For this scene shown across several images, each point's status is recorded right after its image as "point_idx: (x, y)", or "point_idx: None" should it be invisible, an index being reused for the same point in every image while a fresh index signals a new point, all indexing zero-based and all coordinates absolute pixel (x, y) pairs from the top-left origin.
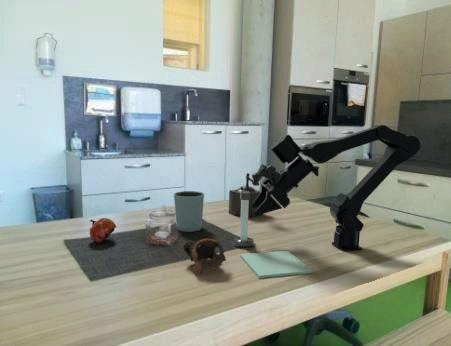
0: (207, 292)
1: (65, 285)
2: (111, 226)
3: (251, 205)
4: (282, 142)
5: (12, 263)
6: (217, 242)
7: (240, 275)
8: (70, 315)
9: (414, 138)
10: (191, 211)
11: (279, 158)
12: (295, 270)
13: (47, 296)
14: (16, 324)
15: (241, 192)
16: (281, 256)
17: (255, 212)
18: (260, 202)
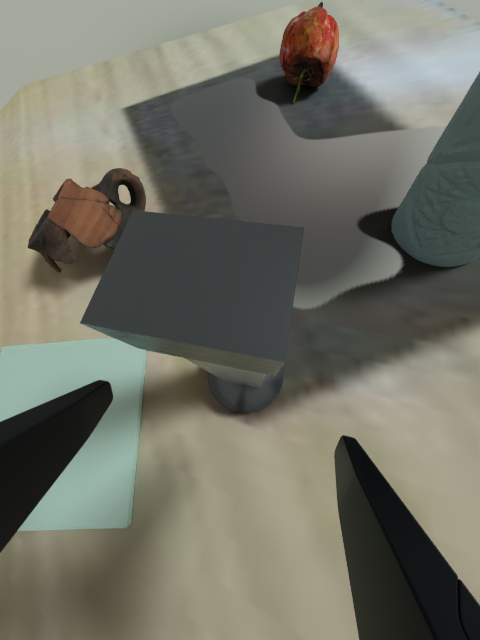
0: (10, 242)
1: (120, 90)
2: (298, 47)
3: (352, 438)
4: None
5: (213, 32)
6: (43, 224)
7: (42, 311)
8: (40, 111)
9: None
10: (440, 167)
11: None
12: None
13: (97, 84)
14: (47, 82)
15: (178, 221)
16: (85, 471)
17: (87, 385)
18: (359, 564)
